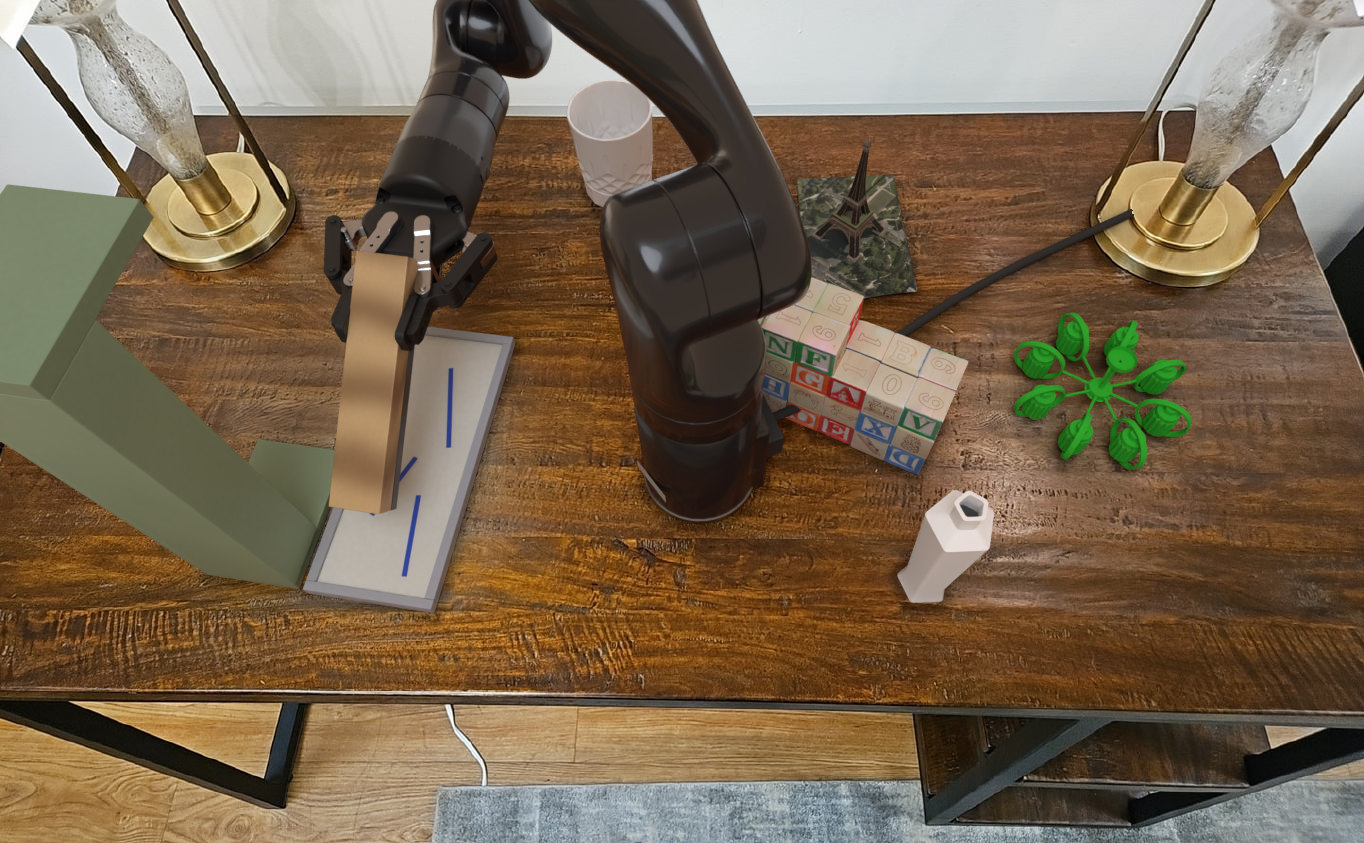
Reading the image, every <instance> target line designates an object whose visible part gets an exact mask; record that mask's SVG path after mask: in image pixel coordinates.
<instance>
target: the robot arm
mask: <svg viewBox="0 0 1364 843" xmlns="http://www.w3.org/2000/svg"><path fill="white" fill-rule="evenodd" d="M431 24H432V26H431V27H432V28H431V29H432V46H431V47H432V50H431V59H430V65H429V71H428V76H427V79H426V81H425V84H424V85H423V88H422V91H421V93H420V96H419V98H418V100H417V102H416V105H415V107H414V108H413V111H412V112H411V113H410V115H409V117H408V118H407V120H406V122H405V124H404V125H403V127H402V130H401V132H400V134H399V137H398V139H397V142H396V144H395V146H394V149H393V151H392V153H391V156H390V158H389V161H388V163H387V165H386V167H385V170H384V172H383V175H382V177H381V179H380V182H379V184H378V187H377V191H376V196H375V201H374V204H373V205H372V206H371V207H370V209H368V210H367V211H366V212H365V213H363V215H362V218H361V219H355V220H347V221H343V220H342V218H341V217H340V215H336V214H332V215H329V216H327V218H326V219H325V221H324V245H323V246H324V249H323V250H324V251H323V253H324V254H323V273H324V275H325V276H326V278H327V280H328V281H329V283H330V285H331V286H332V288H333V289H334V291H335V293H336V294H337V295H340V296H339V298H338V301H337V303H336V305H335V308H334V310H333V312H332V314H331V315H332V316H331V317H330V323H331V324H330V325H331V326H332V327H333V329H334V332H335V334H336V335H337V337H338V338H339V340H340V341H341V343H343V344H346V342H347V335H348V326H349V317H350V305H351V296H352V287H353V278H354V269H355V263H354V264H353V265H352V261H353V260H352V259H353V258H352V254H353V252H357V251H363V252H372V253H381V254H389V255H398V256H407V257H410V258H413V259H415V260H418V271H417V274H416V277H415V279H414V291H415V294H414V295H409V297H408V300H407V303H406V305H405V308H404V311H403V313H402V315H401V317H400V320H399V322H398V325H397V328H396V330H395V340H396V342H397V344H398V345H399V346H400V348H401V350H404V351H412V350H413V348H414V345H419V344H420V343H421V342H422V341H423V339H424V336H425V333H426V331H427V328H428V327H429V325H430V322H431V319H432V316H433V314H434V313H435V312H436V311H437V310H439V308H443V307H449V308H450V309H452V310H457V309H460V308H461V307H463V305H465V303H466V301H467V300H468V299H469V298H470V296H471V295H472V293H474V291H476V288H477V287H478V286H479V285H480V284H481V282H482V280H483V279H484V278H485V277H486V276H487V275H488V273H489V271H491V269H492V268H493V267H494V265H495V264H496V263H497V261H498V259H499V255H498V252H497V249H496V246H495V243H494V241H493V238H492V235H491V234H490V233H489V232H485V231H484V232H480V233H478V234H475V233H474V232H473V233H472V232H471V231H470V230H469V228H470V227H471V225H472V222H473V219H474V216H475V213H476V210H477V208H478V205H479V202H480V200H481V197H482V193H483V191H484V188H485V184H486V182H487V181H489V180H488V179H489V177H490V174H491V169H492V168H491V167H492V165H493V160H494V155H495V154H494V153H495V148H496V144H497V141H498V138H499V135H500V132H501V130H502V126H503V124H504V122H505V119H506V117H507V113H508V110H509V106H510V98H511V97H510V90H509V86H508V84H507V81H506V80H505V78H504V77H507V78H512V79H518V80H526V79H531V78H533V77H535V76H538V75H539V73H541V72H542V71H543V70H544V69H545V67H546V65H547V64H548V62H549V60H550V58H551V54H552V48H553V31H552V26H553V28H555V29H556V30H557V31H558V32H559V33H561V34H562V35H563V36H565V37H566V38H567V39H569V40H570V41H571V42H572V43H574V44H575V46H578V47H579V48H581V49H582V50H584V51H585V52H586V53H587V54H589V55H590V56H592V58H594V59H596V60H597V61H598V62H600V63H601V64H603V65H604V66H606V67H607V68H608V69H610V70H612V71H613V72H615V73H616V74H617V75H619V76H620V77H621V78H623V79H624V80H625V81H626V82H629V83H631V84H632V85H633V86H635V87H636V88H637V89H638V90H639V91H641V92H642V93H643V94H644V95H645V96H646V97H647V98H648V99H649V100H650V101H651V103H652V105H654V106H655V107H656V108H657V109H658V110H659V111H660V112H661V114H663V116H664V117H665V118H666V119H667V121H668V123H670V125H671V126H672V127H673V129H674V130H675V132H677V134H678V136H679V137H680V139H681V141H682V142H683V144H684V145H685V146H686V148H687V150H688V151H689V154H690V155H691V156H692V158H693V160H694V162H695V165H692V166H689V167H686V168H683V169H680V170H677V171H675V172H671V173H669V174H666V175H662V176H659V177H655V178H652V180H651V181H648V182H645V183H642V184H639V185H636V186H633V187H630V188H628V189H625V190H622V191H619V192H617V193H615V194H613V195H612V196H611V197H609V198H608V200H607V201H606V202H605V204H604V206H603V207H601V208H602V209H601V212H600V216H599V226H598V227H599V228H598V229H599V242H600V249H601V253H602V258H603V263H604V267H605V271H606V276H607V279H608V282H609V286H610V290H611V293H612V298H613V302H614V305H615V309H616V314H617V319H618V324H619V329H620V334H621V335H620V336H621V340H622V344H623V349H624V353H625V354H624V355H625V358H626V363H627V364H626V365H627V369H628V370H627V371H628V377H629V381H630V389H631V395H632V402H633V408H634V413H635V420H636V426H637V432H638V439H639V440H638V441H639V446H640V453H641V458H642V460H641V461H642V464H641V463H640V462H639V460H636V463H637V468H638V469H639V470H640V471H641V473H642V474H643V480H644V484H645V485H644V486H645V487H646V491H647V494H648V495H649V497H650V499H651V500H652V501H653V503H654V504H655V505H656V506H657V507H658V509H660V510H661V511H662V512H663V513H664V514H666V515H667V516H669V517H671V518H673V519H675V520H677V521H680V522H683V523H687V524H695V525H697V524H698V525H707V524H712V523H716V522H720V521H722V520H725V519H727V518H728V517H731V516H732V515H734V514H735V513H736V512H737V511H739V510H740V509H741V508H742V507H743V506H744V505H745V504H746V503H747V501H748V499H749V498H750V496H751V494H752V493H753V491H754V490H756V489H758V488H761V487H763V486H764V484H765V477H766V476H765V475H766V469H767V467H766V466H767V460H768V458H770V457H772V456H775V455H779V454H781V453H783V447H784V441H785V436H784V434H783V432H782V430H781V427H780V426H779V424H778V422H779V421H781V420H784V419H787V418H786V417H788V416H791V415H793V414H795V413H798V412H800V411H801V409H800V408H798V407H797V406H795V405H790V406H787V407H785V408H783V409H780V410H778V411H775V412H773V413H772V411H771V409H770V407H769V405H768V403H767V401H766V399H765V397H764V395H763V386H764V376H765V366H766V340H765V336H764V333H763V330H762V328H761V326H760V324H759V322H758V319H761V318H763V317H766V316H769V315H771V314H774V313H776V312H779V311H781V310H783V309H786V308H789V307H791V306H793V305H794V304H796V303H798V302H799V301H801V300H802V299H803V298H804V297H805V295H806V294H807V292H808V290H809V287H810V283H811V277H812V267H811V254H810V249H809V245H808V240H807V236H806V233H805V230H804V226H803V223H802V220H801V216H800V211H799V209H798V206H797V204H796V202H795V200H794V197H793V195H792V192H791V190H790V188H789V186H788V184H787V181H786V179H785V178H784V174H783V173H782V171H781V168H780V167H779V165H778V163H777V161H776V159H775V156H774V155H773V152H772V150H771V148H770V146H769V145H768V142H767V140H766V139H765V136H764V135H763V133H762V130H761V129H760V127H759V125H758V123H757V121H756V120H755V116H754V115H753V114H752V112H751V109H750V108H749V106H748V104H747V102H746V99H745V98H744V96H743V94H742V92H741V90H740V88H739V86H738V84H737V82H736V80H735V78H734V76H733V74H732V72H731V70H730V68H729V66H728V64H727V62H726V60H725V59H724V56H723V54H722V52H721V50H720V48H719V46H718V44H717V42H716V40H715V38H714V35H713V33H712V30H711V28H710V26H709V24H708V21H707V19H706V17H705V14H704V12H703V10H702V7H701V5H700V3H699V0H436V1H435V4H434V6H433V10H432V22H431ZM1132 211H1133V210H1132V209H1131V208H1130V209H1127V210H1125V211H1123V212H1121V213H1119V214H1117V215H1115V216H1113V217H1110V218H1108V219H1106V220H1104V221H1101V222H1099V223H1097V224H1095V225H1093V226H1090V227H1088V228H1086V229H1084V230H1082V231H1079V232H1077V233H1075V234H1073V235H1071V236H1069V237H1066V238H1064V239H1062V240H1060V241H1057V242H1055V243H1053V244H1050V245H1049V246H1046V247H1044V248H1042V249H1040V250H1037V251H1035V252H1034V253H1031V254H1029V255H1026V256H1025V257H1023V258H1021V259H1018V260H1017V261H1015V262H1012V263H1011V264H1009V265H1007V266H1005V267H1003V268H1001V269H999V270H997V271H995V272H993V273H991V274H989V275H988V276H985V277H984V278H982V279H980V280H978V281H976V282H974V283H972V284H971V285H969V286H967V287H966V288H964V289H962V290H961V291H959V292H956V293H955V294H953V295H952V296H950V297H949V298H947V299H945V300H944V301H942V302H940V303H939V304H936V306H934V307H932V308H931V309H930V310H928V311H926V312H925V313H923V314H922V315H921V316H919V317H917V318H916V319H914V320H913V321H911V322H910V323H909V324H907V325H906V326H905V327H903V328H902V329H900V330H899V331H897V333H898V334H901V335H903V336H906V337H908V336H910V335H911V334H912V333H914V332H915V331H917V330H918V329H920V328H922V327H923V326H924V325H925V324H927V323H929V322H930V321H932V320H933V319H934V318H937V317H938V316H939V315H941V314H942V313H944V312H946V311H948V310H949V309H951V308H952V307H954V306H956V305H957V304H959V303H960V302H962V301H964V300H965V299H967V298H969V297H971V296H972V295H974V294H976V293H978V292H980V291H981V290H983V289H986V288H987V287H988V286H990V285H993V284H994V283H996V282H999V281H1000V280H1002V279H1004V278H1006V277H1008V276H1010V275H1013V274H1014V273H1016V272H1017V271H1020V270H1022V269H1024V268H1025V267H1028V266H1030V265H1031V264H1034V263H1036V262H1038V261H1040V260H1042V259H1046V258H1047V257H1049V256H1051V255H1054V254H1056V253H1058V252H1060V251H1062V250H1065V249H1066V248H1069V247H1071V246H1072V245H1075V244H1077V243H1080V242H1082V241H1084V240H1086V239H1088V238H1090V237H1092V236H1095V235H1097V234H1099V233H1101V232H1104V231H1106V230H1108V229H1111V228H1112V227H1114V226H1117V225H1119V224H1121V223H1123V222H1125V221H1127V220H1130V219H1132V218H1133V216H1134V214H1132ZM1134 217H1135V216H1134ZM364 237H366V241H365V242H364V243H363V245H362V246H361V247H360V249H359V250H358V245H359V242H360V240H361V239H362V238H364ZM460 252H462V254H461V255H460V256H459V258H458V259H457V260H456V261H455V262H454V263H453V265H452V266H451V267H450V269H449V270H448V271H447V272H446V274H445V275H443V265H444V264H445V263H447V262H448V261H449V260H451V259H452V258H453V257H455V256H457V254H459V253H460Z"/></svg>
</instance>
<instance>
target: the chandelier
mask: <svg viewBox="0 0 1364 843" xmlns="http://www.w3.org/2000/svg"><path fill="white" fill-rule="evenodd" d="M1069 317H1071V318H1072V319H1073V320H1072V321H1070V322H1069V323H1068V324H1067V325H1065V323H1066V321H1067V319H1068V318H1069ZM1138 324H1139V322H1138V321H1135V320H1133V319H1132V320H1129V323H1128V324H1127V325H1126V326H1121V327H1119V328H1118V329H1117V330H1115V331H1114V332H1113V333H1112V334H1111V335H1110V337H1109V338H1108V340H1107V341H1106V343H1105V344H1104V346H1103V353H1104V355H1105V361H1106V363H1105V364H1106V365H1107V366H1108V367H1107V370H1106V371H1105V373H1104V376H1103V377H1096V375H1095V373H1094V371H1093V369H1092V368H1091V366H1090V363H1089V361H1088V359H1087V358H1086V357H1087V356H1088V353H1089V350H1090V335H1089V334H1090V328H1089V326H1088V325H1087V324H1086V323H1085V320H1084V319H1083V318H1082V316H1080V315H1079V314H1078V313H1076V312H1067V313H1064V314H1063V315H1062V316H1060V318H1059V321H1058V324H1057V339H1056V341H1055V347H1056V348H1057V349H1056V348H1055V347H1054V346H1052V345H1050V344H1048V343H1045V342H1042V341H1038V340H1026V341H1024V342H1021V343H1019V344H1018V346H1017V347H1016V349H1015V350H1014V353H1013V359H1014V362H1015V364H1016V366H1017V367H1018V368H1019V369H1020V370H1022V371H1023V373H1024V374H1025V375H1026V376H1027V377H1029V378H1030V379H1036V380H1037V379H1042V380H1053V379H1056V378H1058V377H1060V376H1061V375H1062V374H1064V375H1065V376H1068V377H1070V378H1072V379H1075V380H1076V381H1079V382H1081V383H1083V384H1085V385H1084V390H1080V391H1075V392H1070V393H1069V392H1068V393H1066V391H1065V389H1064V387H1063V386H1062V385H1058V384H1050V385H1047V384H1038V385H1036V386H1034V387H1033V388H1032V389H1031V390H1030V391H1029V392H1027V393H1025V394H1024V395H1022V396H1021V397H1019V398H1018V399H1017V400H1016V401H1015V402H1014V404H1013V410H1014V413H1015V415H1016V416H1018V417H1022V418H1023V417H1024V418H1026V417H1027V418H1028V419H1030V420H1041V419H1043V418H1046V416H1048V414H1049V412H1050V411H1051V410H1052V409H1054V408H1056V407H1058V406H1059V405H1060V404H1061V403H1062V402H1063V401H1064V400H1065V399H1066V398H1069V397H1075V396H1079V395H1083V394H1086V395H1087V397H1088V398H1089V399H1091V402H1090V403H1089V405H1088V408H1087V410H1086V412H1084V414H1083V415H1082V416H1081V418H1080V419H1075V420H1073V421H1072V422H1070V423H1068V424H1067V426H1066V427H1064V429H1063V430H1062V432H1060V434H1059V435H1058V436H1057V438H1058V439H1057V445H1058V448H1059V449H1060V450H1061V453H1060V456H1059V458H1060V459H1062V460H1063V461H1068V460H1069V459H1070V458H1071V456H1074V455H1078V454H1081V453H1082V452H1083V450H1084V449H1085V448H1086V447H1087V446H1088V445H1089V443H1091V441H1092V438H1093V435H1094V429H1093V428H1094V427H1093V426H1092V425H1091V421H1092V419H1093V414H1091V411H1092V409H1093V407H1094V405H1095V403H1096V402H1098V403H1105V405H1106V408H1107V410H1108V411H1109V413H1110V415H1111V416H1112V419H1113V421H1114V422H1113V423H1112V424H1111V427H1110V431H1109V440H1110V442H1109V445H1108V453H1109V455H1110V457H1111V458H1113V459H1114V460H1115V461H1117V462H1118V463H1119V464H1120V465H1121V466H1122V468H1124V469H1127V470H1130V471H1133V470H1139V469H1140V468H1142V467H1144V465H1145V464H1146V461H1147V458H1148V446H1147V436H1146V434H1145V432H1146V433H1147V434H1149V435H1151V436H1153V437H1166V438H1178V437H1181V436H1184V435H1186V434H1187V433H1188V432H1189V431H1190V430H1191V427H1192V424H1193V419H1192V417H1191V414H1190V412H1188V411H1187V409H1185V408H1183V406H1181V405H1179V404H1177V403H1175V402H1173V401H1170V400H1167V399H1162V398H1148V399H1144V400H1142V401H1141V402H1139V403H1138V404H1137V403H1135V402H1133V401H1132V400H1128V399H1126V398H1124V397H1122V396H1120V395H1118V394H1116V393H1113V388H1117V387H1121V386H1127V385H1131V384H1132V387H1133V388H1134V390H1135V391H1136V392H1138V393H1147V394H1149V395H1154V396H1156V395H1160V394H1162V393H1164V392H1165V391H1166V389H1168V387H1169V386H1171V384H1172V383H1174V382H1175V381H1177V380H1179V379H1180V378H1181V377H1183V375H1184V374H1185V373H1186V371H1187V366H1186V364H1185V362H1184V360H1181V359H1171V360H1167V359H1158V360H1156V361H1155V362H1154V363H1151V364H1150V365H1149V367H1148V368H1146V369H1144V370H1143V371H1141V372H1140V373H1139V374H1137V376H1135V378H1134V379H1131V380H1127V381H1123V382H1117V383H1113V384H1112V383H1111V382H1110V380H1111V379H1112V378H1113V376H1114V375H1115V374H1116V373H1120V374H1128V373H1130V372H1132V371H1133V370H1134V369H1135V368H1136V366H1137V365H1138V357H1137V354H1136V353H1135V352H1134V350H1135V349H1136V347H1137V345H1138V342H1139V339H1140V337H1139V333H1138V331H1136V330H1137V328H1138ZM1027 347H1033V348H1031V349H1030V350H1029V352H1028V353H1027V355H1026V356H1025V359H1024V360H1023V361H1022V360H1021V358H1020V356H1019V351H1020V350H1021V349H1023V348H1027ZM1080 351H1081V353H1080V354H1079V356H1078V357H1076V356H1074V355H1076V354H1078V353H1079V352H1080ZM1064 356H1065V358H1066V359H1068V360H1069V361H1071V362H1079V361H1083V362H1084V364H1085V366H1086V368H1087V370H1088V373H1089V374H1090V376H1091V379H1090V380H1085V379H1084V378H1082V377H1079V376H1077V375H1076V374H1073V373H1071V372H1068V371H1067V370H1064V369H1066V360H1065V358H1064ZM1055 358H1056V359H1057V361H1058V362H1059V364H1060V370H1059V371H1056V372H1053V373H1048V372H1049V370H1051V367H1052V366H1053V363H1054V362H1055ZM1177 367H1180V368H1179V369H1177ZM1056 392H1060V394H1059V395H1058V396H1057V395H1056ZM1112 397H1113V398H1115V399H1117V400H1120V401H1121V402H1124V403H1126V404H1128V405H1130V406H1132V407H1135V410H1134V414H1133V415H1134V419H1135V420H1133V419H1131V418H1129V417H1123V418H1118V417H1117V416H1116V414H1115V412H1114V410H1113V408H1112V405H1111V404H1110V403H1109V400H1110V399H1111V398H1112ZM1151 405H1153V407H1152V408H1151V409H1150V410H1149V411H1148V412H1147V414H1145V416H1144V418H1142V416H1141V414H1140V409H1141V408H1143V407H1146V406H1151ZM1021 406H1022V408H1021V409H1022V410H1019V409H1020V407H1021ZM1181 416H1182V417H1183V418H1184V420H1185V421H1186V424H1187V426H1186V427H1185V428H1182V429H1181V430H1174V431H1171V430H1173V429H1174V428H1175V426H1177V424H1178V422H1179V420H1180V418H1181ZM1136 422H1137V423H1136ZM1121 423H1125V424H1127V425H1128V426H1129V427H1126V428H1125V429H1122V430H1120V432H1118V428H1119V426H1120V424H1121ZM1142 428H1143V429H1144V431H1145V432H1144V431H1143V430H1142ZM1138 455H1139V459H1138V462H1137V464H1136V465H1132V464H1130V462H1131V461H1132V460H1133V459H1135V458H1136V457H1137V456H1138Z"/></svg>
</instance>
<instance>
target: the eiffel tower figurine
mask: <svg viewBox="0 0 1364 843" xmlns="http://www.w3.org/2000/svg"><path fill="white" fill-rule="evenodd" d="M870 134H871V132H870V131H869V132H868V137H867V139H866V140H865V141H864V142H862V143H863V144H862V146H861V147H862V151H861V155H860V159H859V162H858V166H857V168H856V172H855V174H854V176H853V175H852V176H833V177H832V176H831V177H810V178H797V179H796V184H797V196H798V197H797V198H798V207H799V215H800V217H801V220H802V223H803V226H804V230H805V233H806V236H807V240H808V245H809V249H810V254H811V267H812V278H815V279H818V280H821V281H823V282H825V283H827V284H833V285H835V286H838V287H841V288H843V289H846V290H849V291H852V292H854V293H857V294H860V295H862V296H864V299H870V298H874V297H881V296H887V295H895V294H904V293H905V294H906V293H915V292H918V290H919V289H918V285H917V281H916V280H917V279H916V276H915V271H914V267H913V261H912V257H911V251H910V247H909V242H908V238H907V233H906V228H905V224H904V220H903V214H902V210H901V205H900V202H899V200H900V199H899V196H898V191H897V190H898V189H897V186H896V181H895V177H894V174H877V175H875V174H874V175H867V172H868V163H869V154H870V148H872V142H871V141H870V140H869V139H870Z"/></svg>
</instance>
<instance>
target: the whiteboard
mask: <svg viewBox="0 0 1364 843" xmlns="http://www.w3.org/2000/svg"><path fill="white" fill-rule="evenodd" d="M515 347H516V341H515V338H514V337H513V336H507V335H500V334H491V333H483V332H475V331H468V330H461V329H450V328H443V327H435V326H434V327H433V326H428V328H427V331H426V333H425V336H424V339H423V341H422V342H421V343H420V344H419V345H415V349H414V358H413V366H412V375H411V384H410V393H409V402H408V411H407V420H406V429H405V438H404V447H403V455H402V464H401V473H400V482H399V491H398V500H397V509H395V510H392V511H388V512H384V513H381V514H374V513H367V512H360V511H354V510H347V509H340V508H333V507H332V509H331V512H330V514H329V517H328V520H327V523H326V526H325V528H324V531H323V533H322V536H321V539H320V542H319V544H318V547H317V549H316V552H315V554H314V558H313V560H312V563H311V566H310V568H309V571H308V573H307V576H306V580H305V582H304V583H303V584H304V585H303V587H302V590H303V591H304V592H306V593H307V594H310V595H315V596H322V597H328V598H335V599H341V600H347V601H353V602H360V603H366V604H367V603H368V604H373V605H378V606H386V607H392V608H397V609H403V610H404V609H405V610H410V611H418V612H423V613H428V614H429V613H430V614H435V613H436V610H437V606H438V603H439V600H440V597H441V594H442V590H443V587H444V584H445V581H446V577H447V574H448V570H449V567H450V565H451V561H452V557H453V554H454V551H455V548H456V547H455V546H456V544H457V540H458V538H459V534H460V530H461V526H462V524H463V520H464V518H465V514H466V510H467V507H468V503H469V500H470V497H471V494H472V491H473V486H474V483H475V481H476V477H477V473H478V470H479V467H480V464H481V461H482V456H483V454H484V450H485V446H486V444H487V440H488V438H489V434H490V430H491V427H492V424H493V420H494V417H495V413H496V410H497V407H498V405H499V404H498V403H499V400H500V397H501V394H502V391H503V387H504V385H505V382H506V381H505V380H506V377H507V373H508V370H509V367H510V363H511V360H512V356H513V353H514V350H515Z"/></svg>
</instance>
